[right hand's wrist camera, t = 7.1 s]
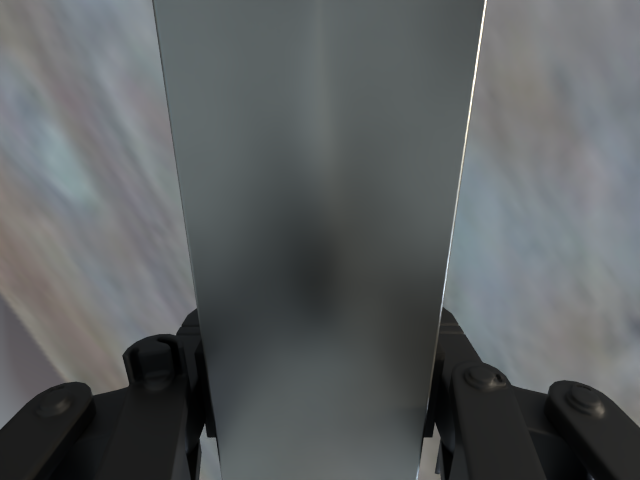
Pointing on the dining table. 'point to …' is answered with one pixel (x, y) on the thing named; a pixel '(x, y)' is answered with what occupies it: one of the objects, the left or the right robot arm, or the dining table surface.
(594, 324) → the dining table surface
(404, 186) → the bar
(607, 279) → the dining table surface
